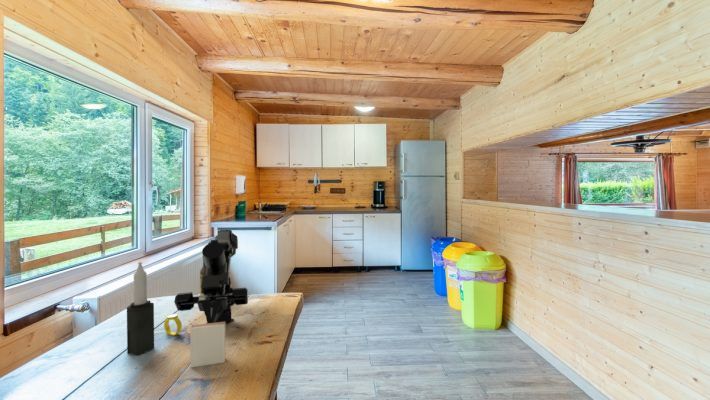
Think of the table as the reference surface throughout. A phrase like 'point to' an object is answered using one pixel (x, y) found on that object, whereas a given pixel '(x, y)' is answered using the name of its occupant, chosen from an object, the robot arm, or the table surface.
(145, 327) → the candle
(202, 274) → the sauce bottle
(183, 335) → the table surface
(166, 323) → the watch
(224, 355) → the tile
